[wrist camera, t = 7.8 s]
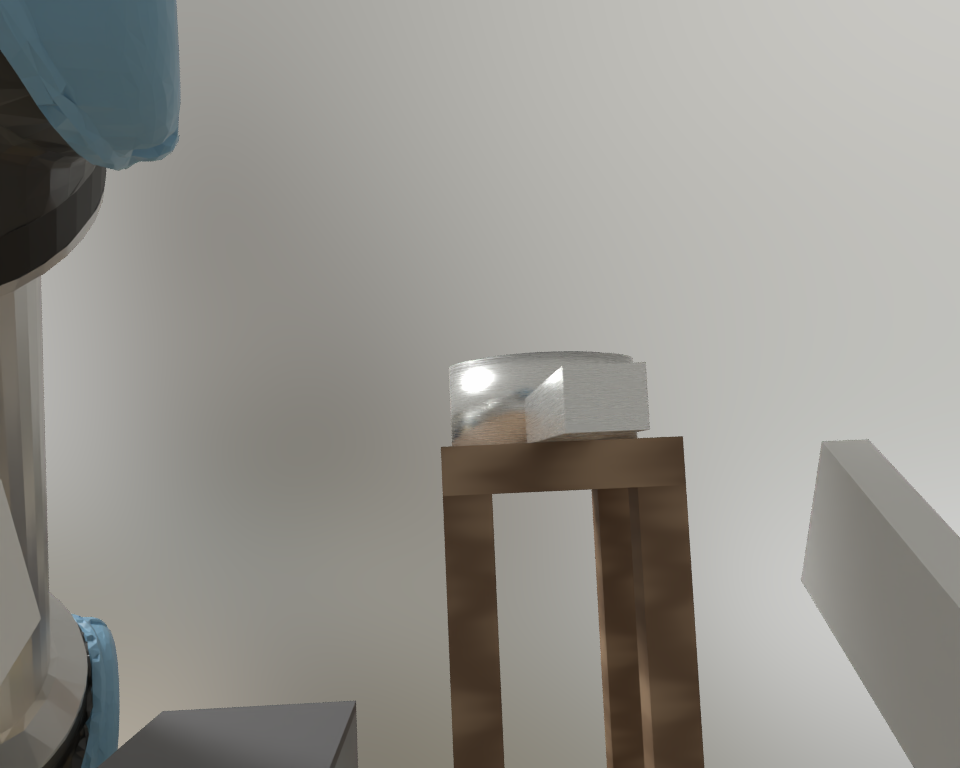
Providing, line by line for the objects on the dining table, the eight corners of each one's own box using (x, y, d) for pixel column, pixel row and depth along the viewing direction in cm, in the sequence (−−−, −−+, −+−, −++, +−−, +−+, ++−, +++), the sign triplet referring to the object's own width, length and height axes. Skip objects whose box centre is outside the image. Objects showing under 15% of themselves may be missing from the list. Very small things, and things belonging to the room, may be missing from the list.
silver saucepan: (455, 437, 26) (449, 298, 27) (451, 451, 48) (448, 374, 49) (758, 424, 27) (748, 287, 27) (618, 444, 49) (613, 367, 49)
